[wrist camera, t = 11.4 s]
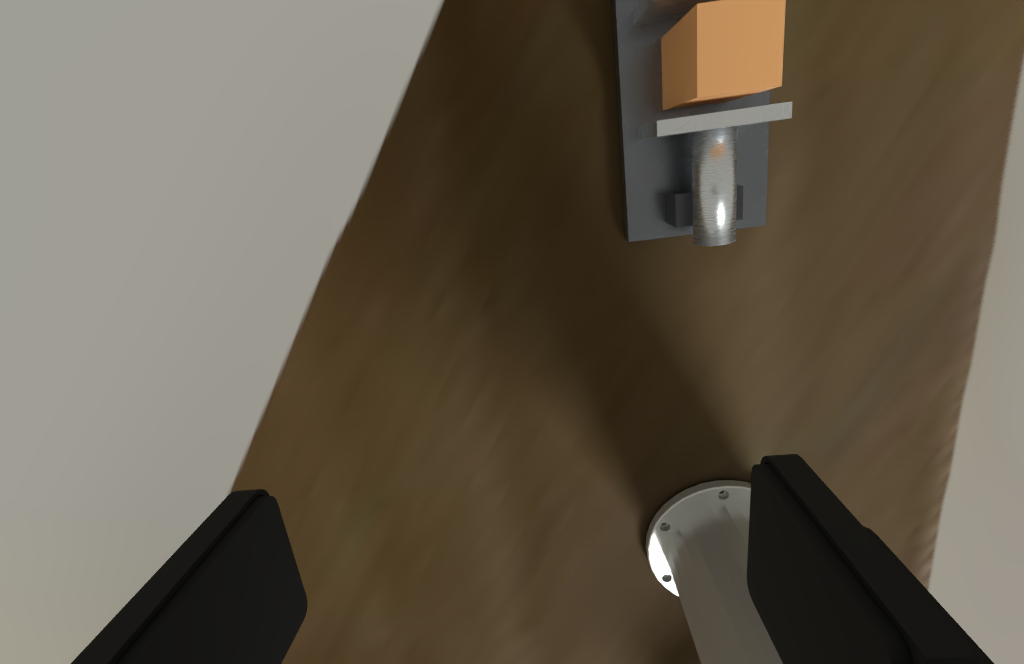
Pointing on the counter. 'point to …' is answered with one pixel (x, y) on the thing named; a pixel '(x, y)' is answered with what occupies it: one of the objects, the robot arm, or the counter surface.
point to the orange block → (723, 52)
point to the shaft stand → (684, 141)
